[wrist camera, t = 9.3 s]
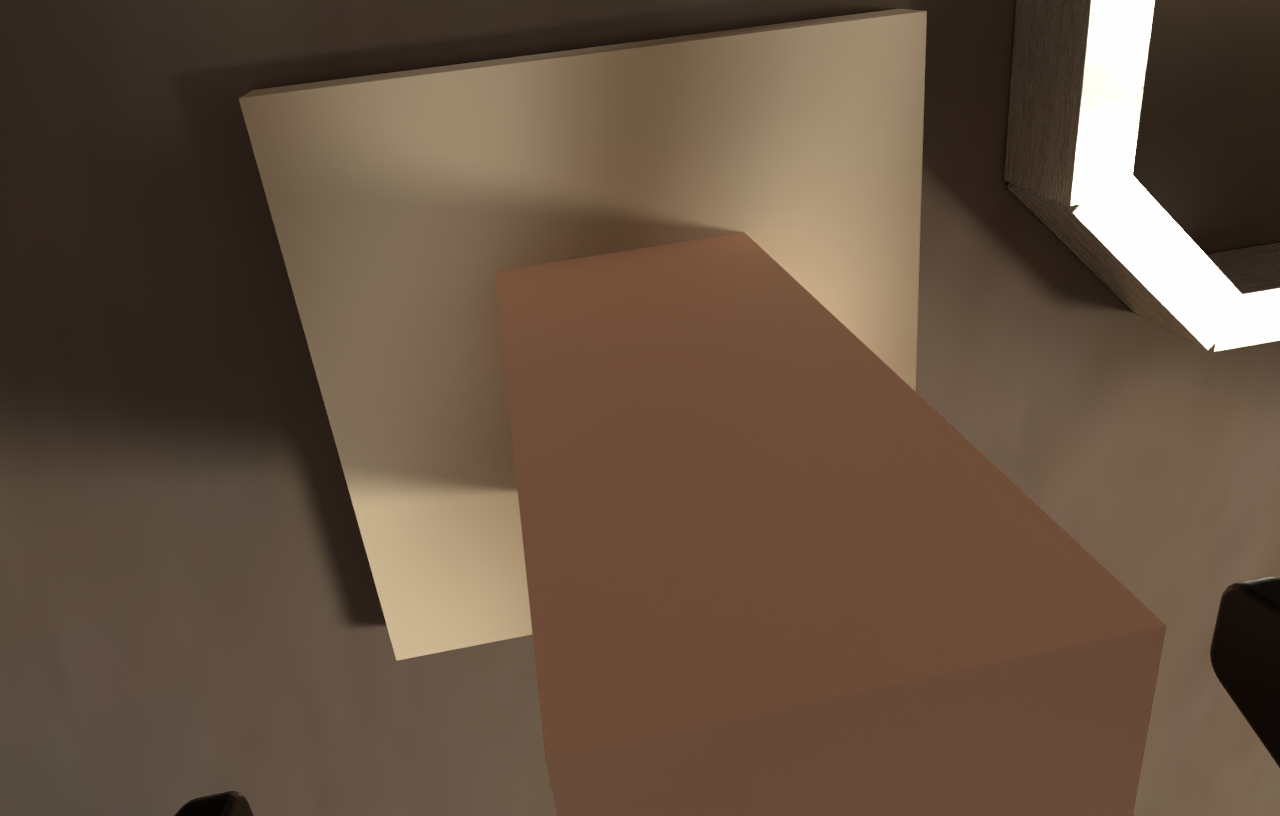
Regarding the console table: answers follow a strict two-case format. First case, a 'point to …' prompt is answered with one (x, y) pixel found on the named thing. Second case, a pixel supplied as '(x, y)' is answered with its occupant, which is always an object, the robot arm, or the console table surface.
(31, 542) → the console table surface
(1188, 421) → the console table surface
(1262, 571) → the console table surface
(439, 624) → the maple board
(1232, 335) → the metal ring
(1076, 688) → the peg
